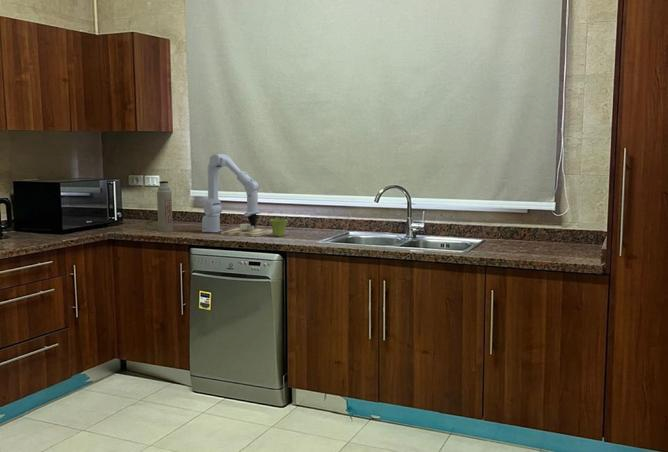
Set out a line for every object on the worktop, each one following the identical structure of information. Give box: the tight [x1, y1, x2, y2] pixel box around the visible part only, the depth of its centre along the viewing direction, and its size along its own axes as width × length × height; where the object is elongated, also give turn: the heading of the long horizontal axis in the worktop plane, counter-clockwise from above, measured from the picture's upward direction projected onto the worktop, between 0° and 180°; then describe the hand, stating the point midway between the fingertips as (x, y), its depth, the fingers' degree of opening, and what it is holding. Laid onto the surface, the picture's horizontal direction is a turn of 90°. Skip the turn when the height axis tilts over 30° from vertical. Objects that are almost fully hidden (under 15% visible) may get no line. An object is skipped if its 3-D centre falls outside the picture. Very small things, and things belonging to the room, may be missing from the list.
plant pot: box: [269, 218, 288, 237], centre depth 361 cm, size 9×9×9 cm
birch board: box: [220, 227, 273, 238], centre depth 370 cm, size 22×18×2 cm
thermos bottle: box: [156, 180, 174, 232], centre depth 382 cm, size 8×8×28 cm
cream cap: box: [239, 223, 255, 231], centre depth 368 cm, size 10×6×3 cm, turn 42°
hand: (252, 228), depth 367 cm, fingers closed, pressing on cream cap
